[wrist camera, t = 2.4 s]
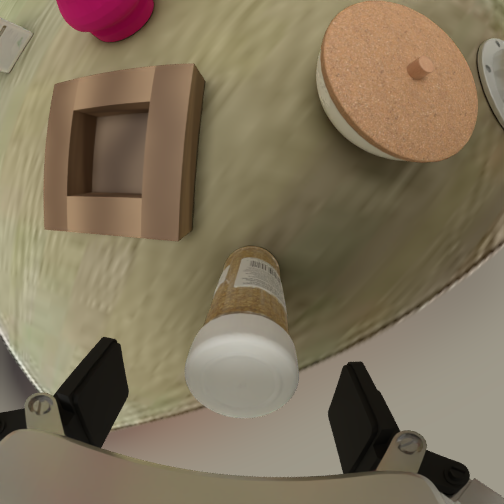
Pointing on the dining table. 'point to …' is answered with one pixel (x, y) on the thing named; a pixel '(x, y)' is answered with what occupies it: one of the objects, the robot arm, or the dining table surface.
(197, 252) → the dining table surface
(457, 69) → the lidded jar
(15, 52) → the syrup box
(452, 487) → the robot arm
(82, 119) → the socket block
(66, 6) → the pepper mill
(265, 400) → the sprinkles bottle
